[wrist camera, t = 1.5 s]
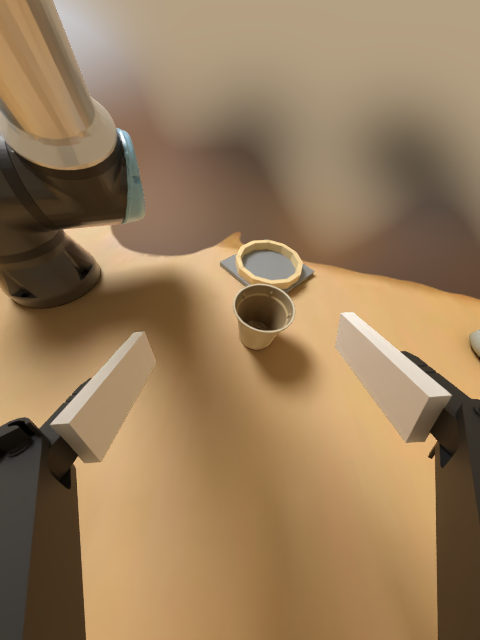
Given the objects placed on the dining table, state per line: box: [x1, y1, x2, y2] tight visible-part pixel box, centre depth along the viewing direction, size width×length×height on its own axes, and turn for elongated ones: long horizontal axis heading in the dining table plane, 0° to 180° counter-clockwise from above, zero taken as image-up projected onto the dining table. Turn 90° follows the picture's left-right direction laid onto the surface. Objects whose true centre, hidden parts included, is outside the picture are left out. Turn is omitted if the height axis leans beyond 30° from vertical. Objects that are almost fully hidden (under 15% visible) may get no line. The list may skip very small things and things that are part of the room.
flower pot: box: [233, 284, 295, 350], centre depth 32 cm, size 9×9×9 cm
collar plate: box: [220, 239, 314, 294], centre depth 45 cm, size 16×16×3 cm
